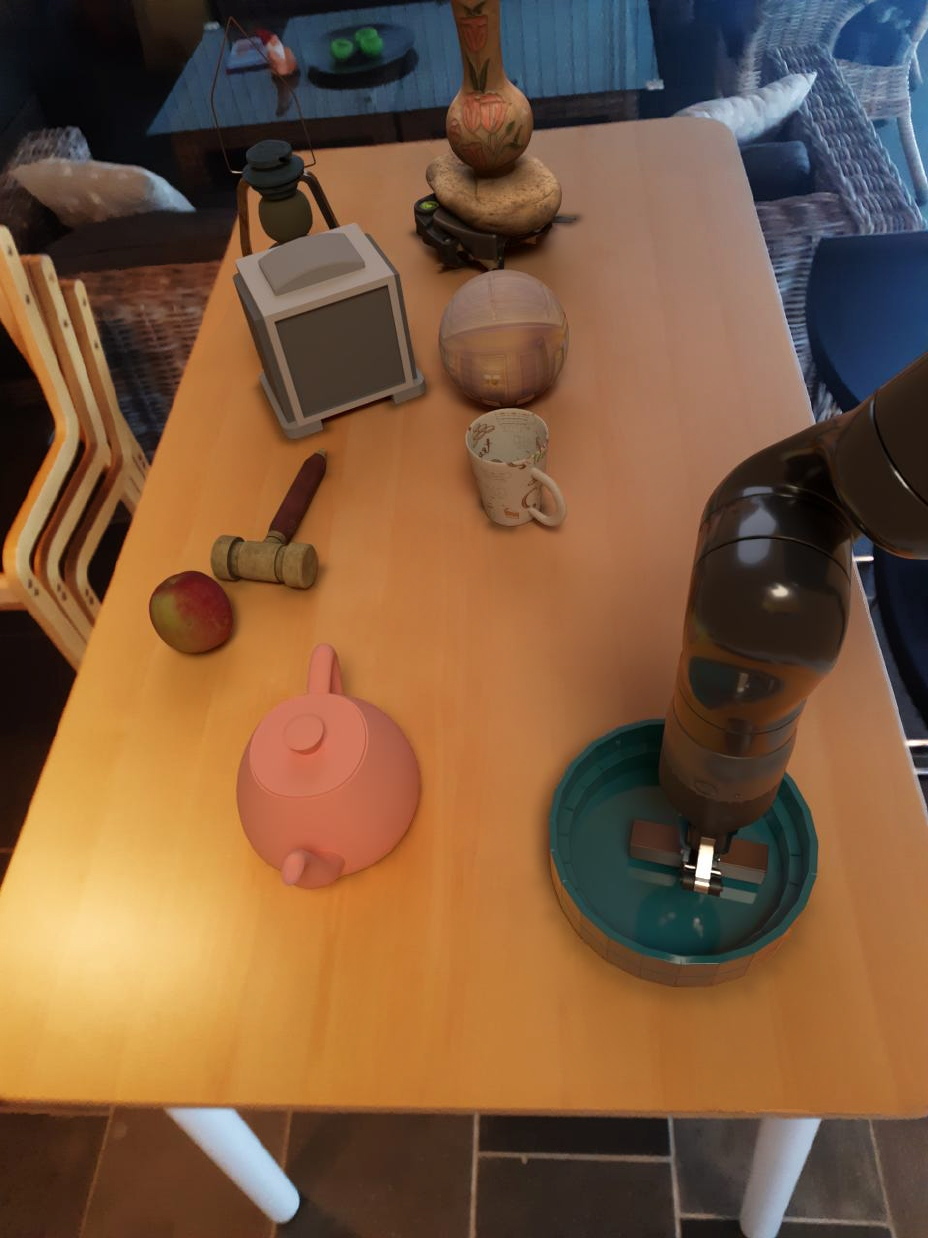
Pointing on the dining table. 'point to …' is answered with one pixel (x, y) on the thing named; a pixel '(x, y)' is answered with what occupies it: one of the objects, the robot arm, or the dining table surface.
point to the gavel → (275, 539)
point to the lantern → (277, 186)
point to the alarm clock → (327, 327)
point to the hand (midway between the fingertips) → (696, 855)
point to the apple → (191, 612)
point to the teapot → (326, 782)
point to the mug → (512, 466)
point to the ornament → (503, 338)
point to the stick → (663, 847)
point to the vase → (486, 157)
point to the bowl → (669, 870)
